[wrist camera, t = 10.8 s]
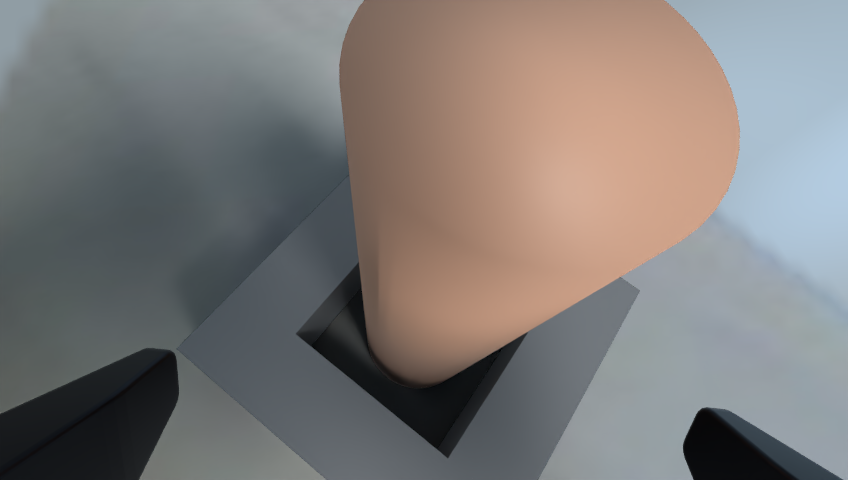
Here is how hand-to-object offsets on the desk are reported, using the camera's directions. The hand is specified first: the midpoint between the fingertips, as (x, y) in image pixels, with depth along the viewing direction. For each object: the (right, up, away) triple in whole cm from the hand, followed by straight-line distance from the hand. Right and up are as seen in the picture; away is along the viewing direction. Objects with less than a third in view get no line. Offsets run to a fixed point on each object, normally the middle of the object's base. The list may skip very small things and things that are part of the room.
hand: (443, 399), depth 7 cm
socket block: (-1, -1, +10) cm, 10 cm away
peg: (-1, -1, +10) cm, 10 cm away
